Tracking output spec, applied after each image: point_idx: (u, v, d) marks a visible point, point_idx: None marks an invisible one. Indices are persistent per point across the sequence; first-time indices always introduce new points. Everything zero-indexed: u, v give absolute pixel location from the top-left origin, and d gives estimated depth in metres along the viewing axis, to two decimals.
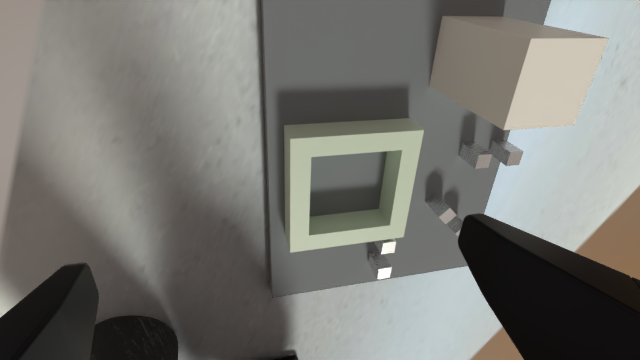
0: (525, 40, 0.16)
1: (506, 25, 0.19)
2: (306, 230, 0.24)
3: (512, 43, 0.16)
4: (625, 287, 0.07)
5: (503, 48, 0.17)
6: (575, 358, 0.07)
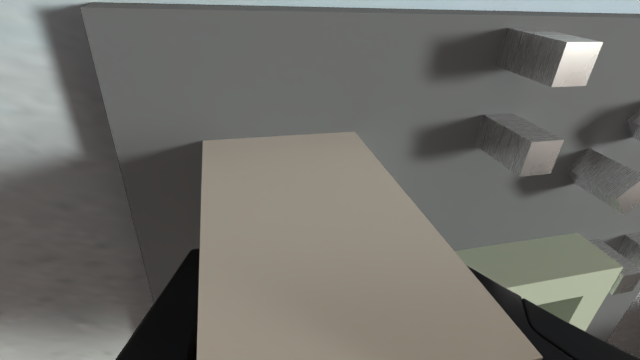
0: None
1: None
2: None
3: None
4: (510, 310, 0.06)
5: None
6: None
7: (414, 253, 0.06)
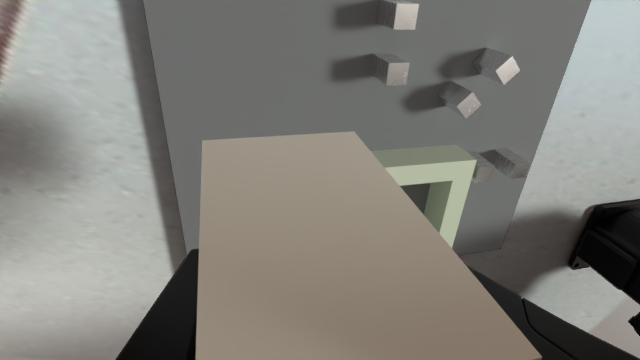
0: None
1: None
2: None
3: None
4: (510, 310, 0.06)
5: None
6: None
7: (413, 253, 0.06)
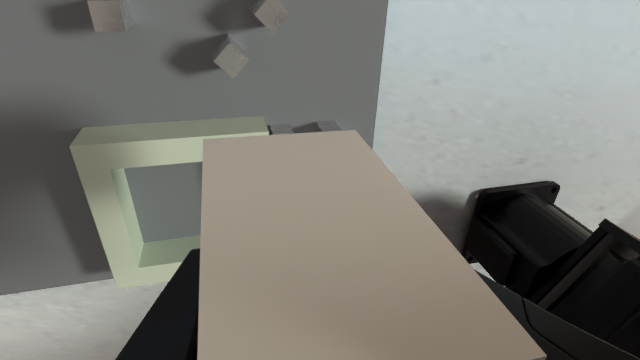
0: None
1: None
2: None
3: None
4: (510, 310, 0.06)
5: None
6: None
7: (416, 251, 0.06)
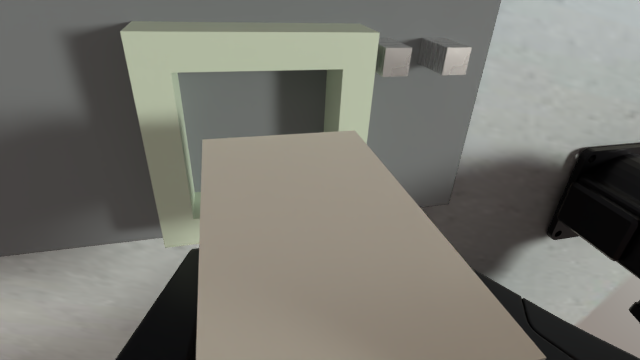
0: None
1: None
2: None
3: None
4: (510, 310, 0.06)
5: None
6: None
7: (415, 252, 0.06)
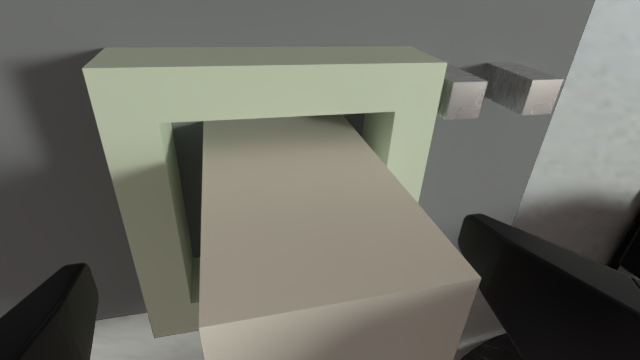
0: None
1: None
2: None
3: None
4: (625, 287, 0.07)
5: None
6: (575, 358, 0.07)
7: (384, 206, 0.07)
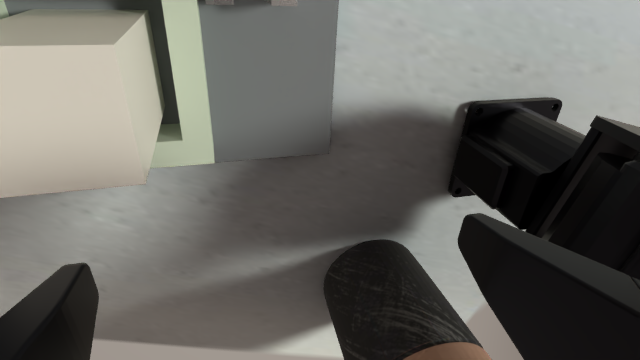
0: None
1: None
2: (172, 144, 0.16)
3: None
4: (625, 287, 0.07)
5: None
6: (575, 358, 0.07)
7: (101, 30, 0.11)
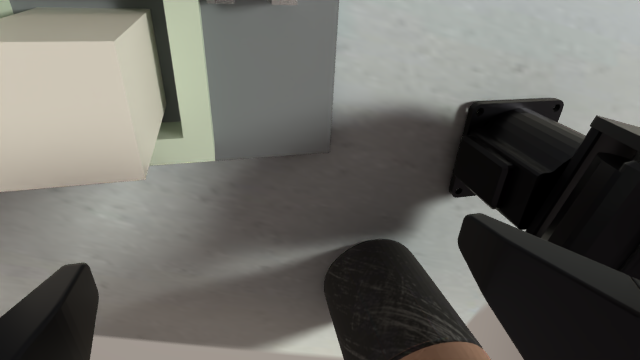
0: (1, 186, 0.11)
1: None
2: (173, 142, 0.16)
3: None
4: (625, 287, 0.07)
5: None
6: (575, 358, 0.07)
7: (103, 28, 0.11)
